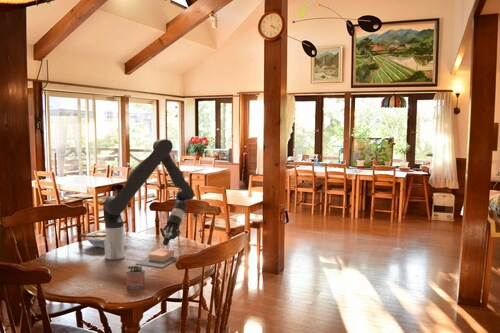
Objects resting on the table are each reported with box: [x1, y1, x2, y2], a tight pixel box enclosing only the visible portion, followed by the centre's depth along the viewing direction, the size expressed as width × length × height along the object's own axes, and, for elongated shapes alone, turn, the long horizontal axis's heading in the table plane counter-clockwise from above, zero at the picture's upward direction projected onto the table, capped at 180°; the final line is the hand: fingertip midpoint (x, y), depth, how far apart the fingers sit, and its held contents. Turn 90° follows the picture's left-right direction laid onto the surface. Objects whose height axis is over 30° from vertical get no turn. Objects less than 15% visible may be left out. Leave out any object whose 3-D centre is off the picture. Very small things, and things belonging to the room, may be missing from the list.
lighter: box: [125, 264, 146, 290], centre depth 178 cm, size 8×3×10 cm, turn 92°
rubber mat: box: [135, 256, 179, 269], centre depth 213 cm, size 16×16×1 cm
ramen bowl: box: [78, 229, 127, 249], centre depth 239 cm, size 25×23×8 cm
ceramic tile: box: [148, 247, 175, 262], centre depth 216 cm, size 3×9×11 cm
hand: (164, 244), depth 219 cm, fingers closed
